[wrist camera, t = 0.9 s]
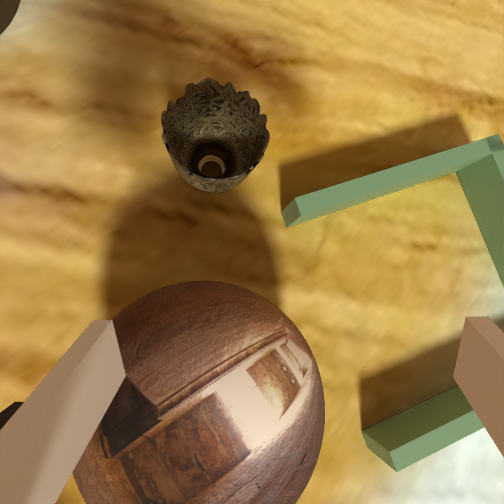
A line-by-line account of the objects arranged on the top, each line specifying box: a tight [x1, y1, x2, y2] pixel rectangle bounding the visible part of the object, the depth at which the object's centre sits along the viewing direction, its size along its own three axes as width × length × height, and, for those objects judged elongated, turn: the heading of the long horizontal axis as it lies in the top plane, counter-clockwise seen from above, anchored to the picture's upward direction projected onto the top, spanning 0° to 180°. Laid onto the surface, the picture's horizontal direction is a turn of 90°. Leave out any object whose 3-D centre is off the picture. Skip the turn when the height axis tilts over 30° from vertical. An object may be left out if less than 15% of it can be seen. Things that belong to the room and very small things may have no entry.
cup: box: [161, 78, 270, 193], centre depth 28 cm, size 8×7×8 cm
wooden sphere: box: [72, 281, 325, 504], centre depth 22 cm, size 15×15×15 cm
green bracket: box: [281, 134, 504, 472], centre depth 31 cm, size 20×22×4 cm
